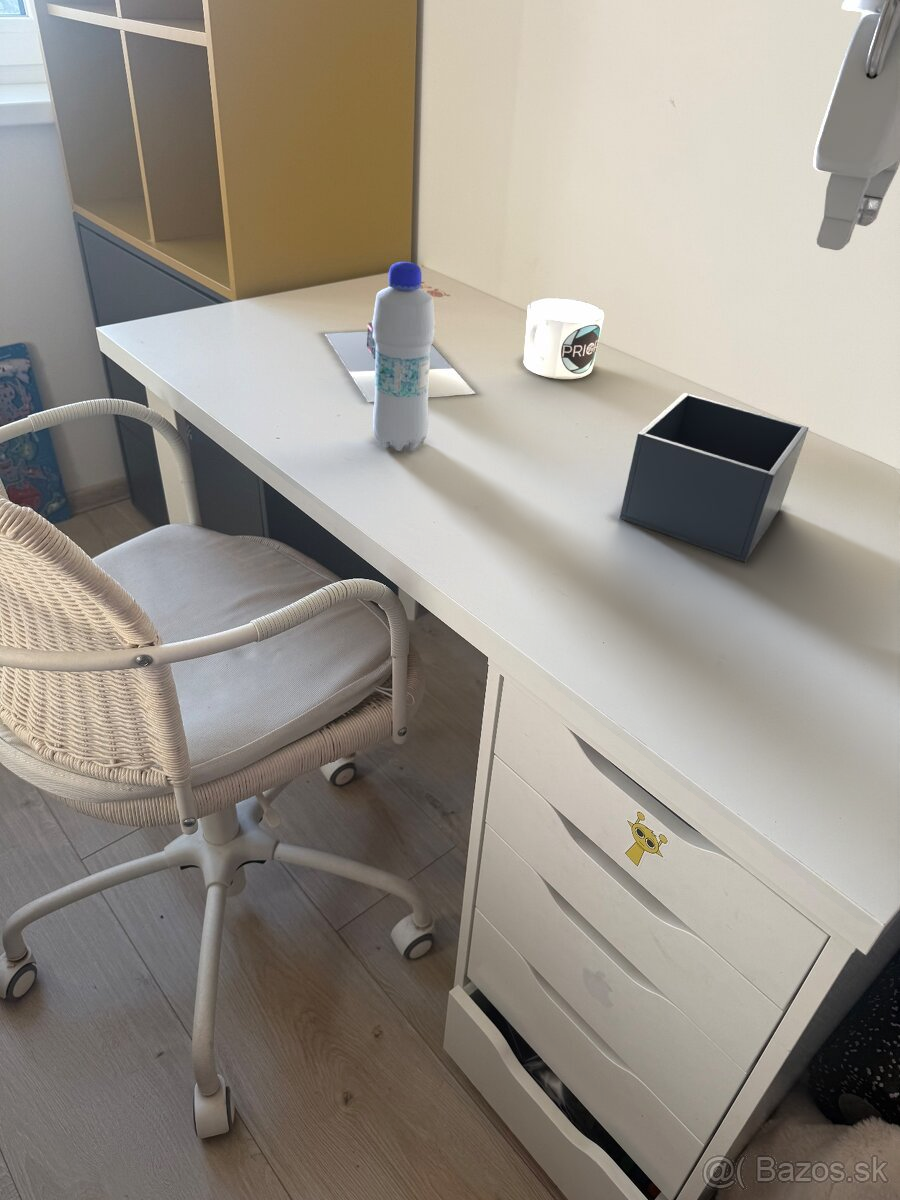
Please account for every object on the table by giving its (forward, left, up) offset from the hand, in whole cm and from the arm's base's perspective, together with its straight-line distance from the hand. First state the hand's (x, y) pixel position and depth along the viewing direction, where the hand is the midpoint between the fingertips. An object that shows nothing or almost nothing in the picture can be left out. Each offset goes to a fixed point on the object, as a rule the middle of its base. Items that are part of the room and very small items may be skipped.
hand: (846, 234), depth 56 cm
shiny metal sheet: (+56, -27, -31) cm, 70 cm away
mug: (+38, -40, -31) cm, 63 cm away
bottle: (+41, -7, -31) cm, 52 cm away
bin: (+7, -14, -31) cm, 35 cm away
